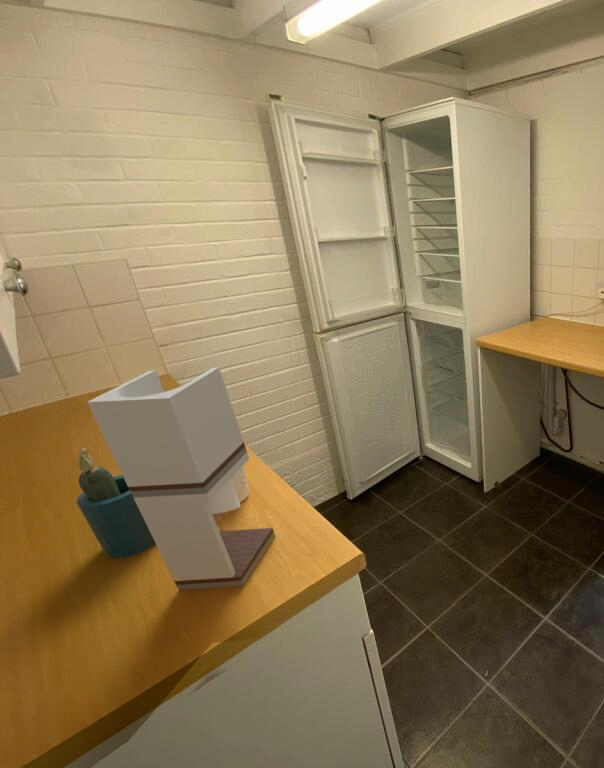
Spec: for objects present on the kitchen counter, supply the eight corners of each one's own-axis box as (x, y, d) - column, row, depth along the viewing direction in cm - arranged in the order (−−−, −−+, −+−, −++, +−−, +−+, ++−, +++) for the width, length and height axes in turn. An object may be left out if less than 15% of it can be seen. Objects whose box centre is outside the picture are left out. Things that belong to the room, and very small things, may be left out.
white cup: (238, 483, 96) (225, 446, 92) (260, 492, 93) (247, 454, 89) (202, 503, 90) (187, 465, 86) (225, 514, 87) (209, 474, 83)
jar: (96, 565, 75) (66, 513, 70) (116, 531, 83) (90, 481, 78) (162, 547, 79) (137, 496, 74) (174, 516, 87) (153, 467, 82)
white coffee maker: (243, 585, 70) (168, 398, 56) (178, 590, 70) (86, 402, 56) (275, 536, 80) (218, 367, 66) (218, 539, 80) (150, 370, 66)
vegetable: (134, 545, 78) (70, 460, 69) (116, 544, 79) (51, 460, 70) (156, 527, 82) (98, 444, 73) (138, 526, 83) (79, 444, 74)
